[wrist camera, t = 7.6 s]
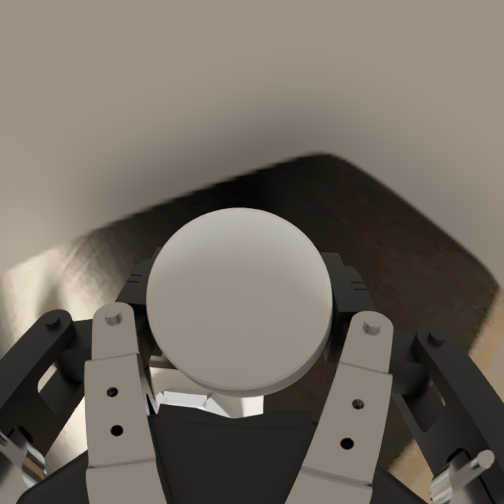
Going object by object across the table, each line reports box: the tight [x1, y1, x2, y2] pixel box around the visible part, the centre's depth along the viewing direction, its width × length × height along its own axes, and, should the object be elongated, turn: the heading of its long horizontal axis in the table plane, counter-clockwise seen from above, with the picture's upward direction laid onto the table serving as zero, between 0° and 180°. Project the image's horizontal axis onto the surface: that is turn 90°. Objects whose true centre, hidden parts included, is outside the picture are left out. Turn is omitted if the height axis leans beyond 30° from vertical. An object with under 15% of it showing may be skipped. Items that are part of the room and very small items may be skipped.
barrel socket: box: [150, 367, 263, 418], centre depth 22 cm, size 12×12×3 cm
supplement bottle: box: [146, 208, 333, 398], centre depth 11 cm, size 5×5×10 cm
